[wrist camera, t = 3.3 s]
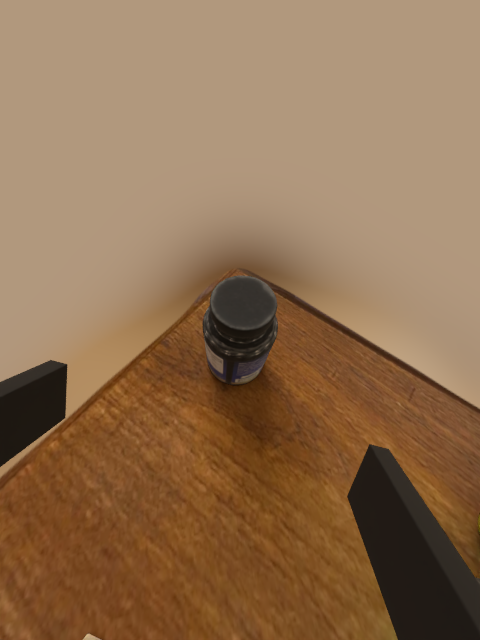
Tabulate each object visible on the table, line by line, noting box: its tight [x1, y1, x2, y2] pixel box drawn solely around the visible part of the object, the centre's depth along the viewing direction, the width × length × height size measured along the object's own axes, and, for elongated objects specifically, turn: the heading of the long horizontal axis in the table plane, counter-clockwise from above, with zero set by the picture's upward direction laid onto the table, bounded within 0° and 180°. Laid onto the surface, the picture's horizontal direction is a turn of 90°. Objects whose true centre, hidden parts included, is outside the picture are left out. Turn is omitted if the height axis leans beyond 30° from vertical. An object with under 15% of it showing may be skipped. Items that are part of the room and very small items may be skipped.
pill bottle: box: [203, 276, 278, 385], centre depth 21 cm, size 6×6×11 cm
